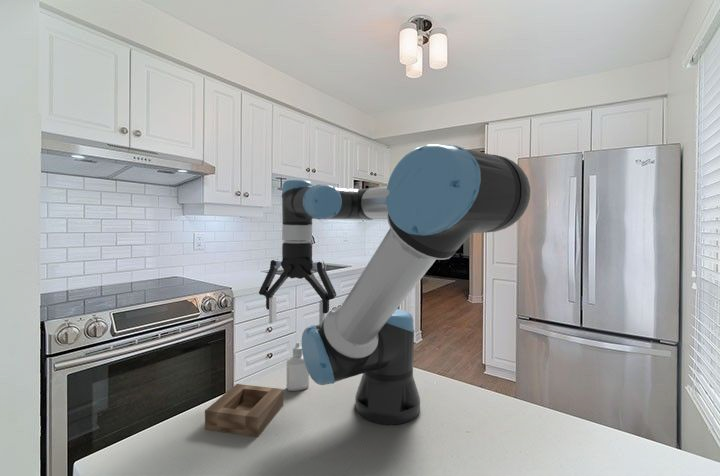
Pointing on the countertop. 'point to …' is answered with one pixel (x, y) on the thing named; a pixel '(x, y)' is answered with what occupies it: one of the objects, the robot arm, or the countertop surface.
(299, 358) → the eye dropper bottle
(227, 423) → the walnut bottle stand
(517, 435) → the countertop surface
